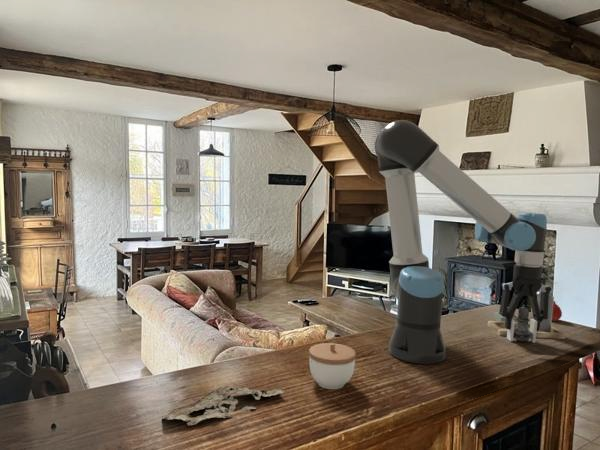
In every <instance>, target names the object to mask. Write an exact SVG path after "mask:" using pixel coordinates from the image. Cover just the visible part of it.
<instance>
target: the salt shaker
mask: <svg viewBox="0 0 600 450" xmlns="http://www.w3.org/2000/svg"><path fill="white" fill-rule="evenodd" d="M517 315H518V317H517V318H516V319H517V326H516V328H515V329H514V334H513V339H515V340H516V342H519V343H526V342H527V341H530V340H529V339H530V338H531V335H532V332H530V331H529V330H528V323H529V322H530V320H531V319H529V315H530V309H529V308H528V307H526V305H525V304H522V306H520V307H519V308H518V311H517Z"/></svg>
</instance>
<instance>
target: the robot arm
mask: <svg viewBox="0 0 600 450" xmlns="http://www.w3.org/2000/svg"><path fill="white" fill-rule="evenodd" d="M374 150H375V154H376V156H377V163H378V169H379V170H378V171H379V174H381V175H382V176H383V177H384V178H385V179H384V181H385V188H386V197H387V207H388V216H389V217H388V219H389V226H390V234H391V245H392V253H393V256H392V257H391V258H390V260H389V261H388V263H389V271H390V272H389V274H390V275H389V280H388V282H389V288H390V291H391V292H392V294H393V295H394V296H395V298H396V299H397V314H396V325H395V327H394V329H393V331H392V335H391V337H390V339H389V343H388V353H389V354H390V355H391V356H393V357H394V358H396V359H399V360H401V361H403V362H407V363H414V364H420V365H432V364H433V365H434V364H439V363H441V362H443V361H444V360H445V358H446V350H447V349H446V346H445V342H444V339H443V334H442V330H441V323H442V322H441V321H442V312H443V311H442V310H443V309H442V308H443V294H444V289H445V284H444V276H443V274H442V273H441V272H440V271H439V270H436V269H433V268H431V267H430V263H429V262H430V261H429V258H428V256H427V255H425V254H424V253H423V246H422V243H423V242H422V237H421V236H422V235H421V234H422V233H421V225H420V218H419V217H420V216H419V207H418V195H417V186H416V185H417V184H416V177H415V174H416V173H417V174H418V173H419V174H420V175H422V176H423V177H424V178H425V179H426V180H427V181H429V182H430V184H432V185H434V187H435V188H437V189H438V190H439V191H440V192H442V193H443V194H444V195H445V196H447V198H448V199H450V200H451V201H452V202H453V203H454V204H455V205H456V206H458V207H459V208H461V210H463V212H465V213H466V214H468V216H470V217H471V218H472V219H473V220H474V221H476V222H475V224H474V225H475V226H474V237H475V239H476V241H478V242H480V243H485V244H496V245H499V246H502V247H504V248H506V249H507V248H508V249H509V250H511V251H515V253H514V262H515V264H513V271H512V272H513V274H512V280H510V281H511V282H507V283H506V282H502V283H501V288H502V294H501V300H500V306H499V311H498V312H499V313H500V315H502V316H503V317H505V318H506V319H505V328H506V329H507V336H506V339H507V340H509V342H513V341H514V337H513V334H514V324H515V320H514V319H513V315H514V313H515V312H516V310H517V308H518V306H519V303H520V301H521V299H523V297H526V296H527V297H528V299H529V303H530V307H531V308H532V312H533V317H534V319H531V318H530V320H531V321H529V323H530V332H532V335H531V338H530V339H529V340H528V341H530V342H531V343H532V344H533V343H534V344H536V341H537V337H536V331H539V330H540V322H542V321H543V319H547V318H548V300H549V293H550V292H551V291H552V288H551V286H548V285H546V284H542V281H541V280H542V275H543V267H542V266H543V265H544V256H545V255H544V252H545V241H546V234H547V227H548V225H547V224H548V223H547V222H548V220H547V219H548V218H547V215H545V214H544V213H537V212H522V211H521V212H519V214H518V217H516V216H515V215H514V214H513V213H512V212H510V210H508V209H507V208H506V207H505V206H504V205H502V204H501V203H500V202H499V201H497V199H495V197H493V196H492V195H491V194H490V193H488V192H487V191H486V189H484V188H483V187H482V186H480V185H479V184H478V183H477V182H476V181H475V180H474V179H472V177H470V176H469V175H468V174H467V173H466V172H464V170H462V169H461V168H460V167H459V166H457V164H455V162H453V161H452V160H451V159H449V158H448V157H447V156H446V155H445V154H443V153H442V152H441V150H440V145H439V143H438V142H436V141H435V140H434V139H433V138H431V136H429V135H428V134H427V133H426V132H425V131H424V130H423V129H422V128H421V127H419V125H417V124H415V123H414V122H412V121H410V120H408V119H407V120H406V119H398V120H394V121H392V122H390V123H388V124H387V125H386V126H385V127H384V128H383V129H382V130H381V131H380V132H379V133H378V134H377V136H376V138H375V142H374ZM512 288H513V289H514V291H513V293H512V298H511V300H510V295H511V291H512ZM537 291H541V297H540V310H539V306H538V301H537V293H536V292H537ZM550 294H551V293H550ZM515 314H516V313H515Z"/></svg>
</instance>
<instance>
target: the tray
mask: <svg viewBox="0 0 600 450" xmlns="http://www.w3.org/2000/svg"><path fill="white" fill-rule="evenodd" d="M487 326H488V327H489V328H490V329H491V330H492V331H494V333H496V334H497V335H499V336H502V337H503V336H505V337H507V329H506V328H505V322H501V321H497V320H496V321H495V320H488V321H487ZM516 326H517V322H515V324H514V329H515V328H516ZM528 330H529V331H530V322H528ZM536 338H541V339H542V338H544V339H545V338H546V339H560V340H562V339H563V340H565V339H566V333H564V332H563V331H561V330H560V329H559V328H556V327H555V326H553V325H552V324H551V332H537V331H536Z"/></svg>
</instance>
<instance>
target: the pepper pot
mask: <svg viewBox="0 0 600 450" xmlns="http://www.w3.org/2000/svg"><path fill="white" fill-rule="evenodd" d="M536 293H537V301H538V306H539V310H540V297H541V291H540V290H538V291H537V292H536ZM554 301H555V297H554V296H553V295H552V294H551V293H549V300H548V318H547V319H543V321H542V322H540V330H539V331H537V332H551V325H552V322H553V321H552V313H553V302H554ZM530 311H531V312H530V319H529V320H530V321H531V319H534V317H533V312H532V308H531V309H530ZM530 321H529V322H530Z"/></svg>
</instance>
